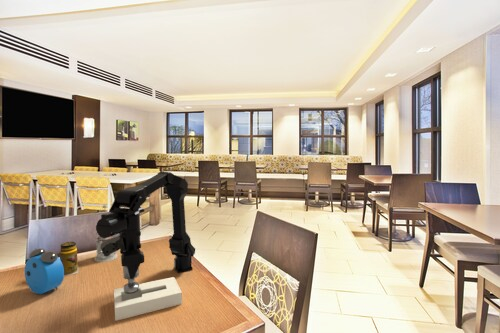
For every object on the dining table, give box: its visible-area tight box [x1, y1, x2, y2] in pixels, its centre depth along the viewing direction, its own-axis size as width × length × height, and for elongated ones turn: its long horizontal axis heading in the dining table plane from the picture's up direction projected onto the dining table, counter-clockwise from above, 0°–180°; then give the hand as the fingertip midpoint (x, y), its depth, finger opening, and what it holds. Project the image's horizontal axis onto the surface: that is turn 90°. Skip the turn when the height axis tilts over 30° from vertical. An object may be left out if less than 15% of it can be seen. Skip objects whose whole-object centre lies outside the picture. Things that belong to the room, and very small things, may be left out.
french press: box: [93, 204, 119, 263], centre depth 127 cm, size 10×12×25 cm
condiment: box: [59, 241, 80, 276], centre depth 112 cm, size 7×8×12 cm
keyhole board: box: [113, 276, 183, 322], centre depth 91 cm, size 20×12×4 cm, turn 118°
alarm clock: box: [24, 247, 64, 295], centre depth 97 cm, size 13×6×15 cm, turn 67°
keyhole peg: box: [122, 266, 140, 294], centre depth 88 cm, size 5×5×9 cm
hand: (131, 275), depth 88 cm, fingers closed on keyhole peg, 5 cm apart
